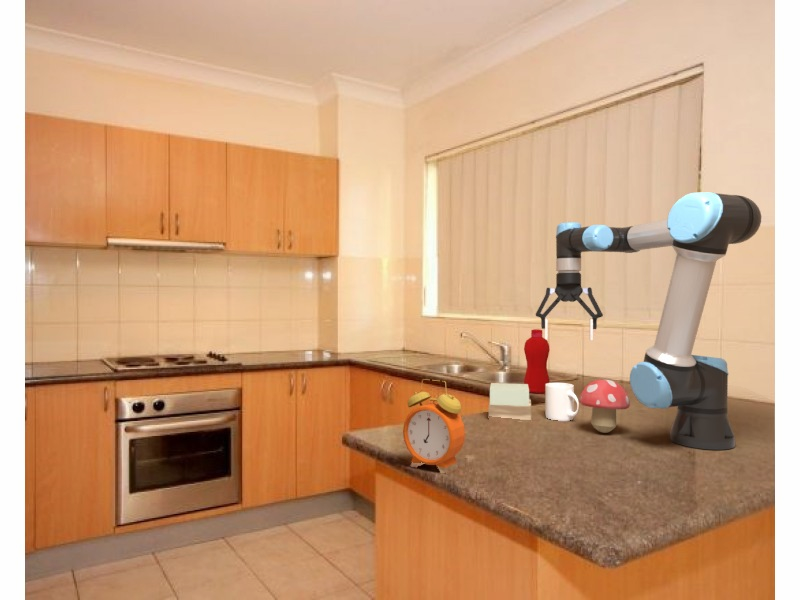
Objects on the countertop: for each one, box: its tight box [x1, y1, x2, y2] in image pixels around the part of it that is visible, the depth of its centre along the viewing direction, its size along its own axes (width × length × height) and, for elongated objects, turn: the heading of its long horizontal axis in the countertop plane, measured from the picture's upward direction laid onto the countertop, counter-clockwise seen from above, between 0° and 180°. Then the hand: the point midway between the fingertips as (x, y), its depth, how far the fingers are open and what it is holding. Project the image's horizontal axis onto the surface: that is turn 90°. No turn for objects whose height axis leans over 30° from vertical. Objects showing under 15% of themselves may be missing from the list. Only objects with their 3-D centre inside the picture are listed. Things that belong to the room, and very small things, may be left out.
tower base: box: [488, 398, 532, 421], centre depth 180 cm, size 13×13×5 cm
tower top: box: [489, 382, 530, 406], centre depth 181 cm, size 12×12×5 cm
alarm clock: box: [402, 378, 466, 468], centre depth 128 cm, size 13×6×20 cm, turn 56°
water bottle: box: [523, 328, 551, 395], centre depth 225 cm, size 9×11×25 cm
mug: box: [544, 382, 580, 422], centre depth 175 cm, size 9×12×11 cm
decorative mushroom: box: [579, 378, 631, 434], centre depth 158 cm, size 13×13×15 cm
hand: (568, 339), depth 177 cm, fingers open, 13 cm apart
